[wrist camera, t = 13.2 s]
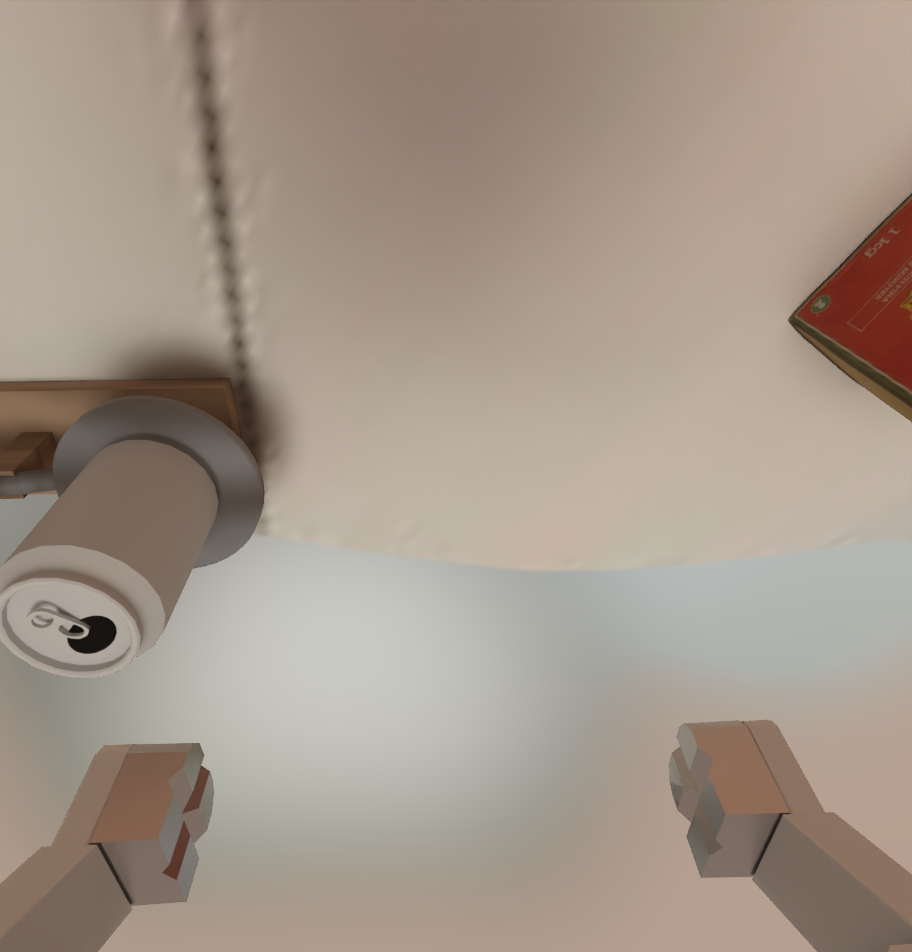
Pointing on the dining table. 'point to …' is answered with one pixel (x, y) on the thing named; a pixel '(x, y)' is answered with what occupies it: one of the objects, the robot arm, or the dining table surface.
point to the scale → (131, 418)
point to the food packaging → (869, 313)
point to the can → (107, 561)
